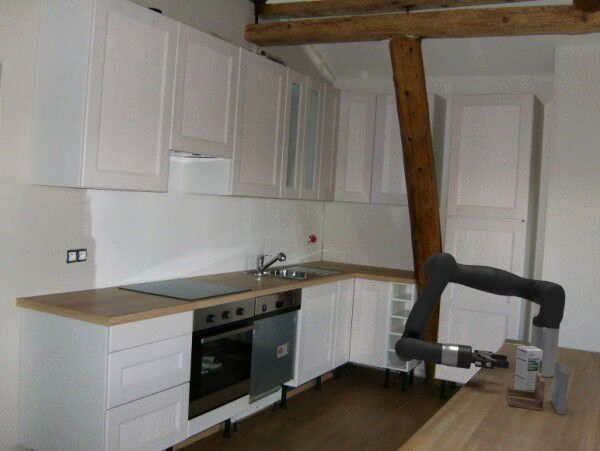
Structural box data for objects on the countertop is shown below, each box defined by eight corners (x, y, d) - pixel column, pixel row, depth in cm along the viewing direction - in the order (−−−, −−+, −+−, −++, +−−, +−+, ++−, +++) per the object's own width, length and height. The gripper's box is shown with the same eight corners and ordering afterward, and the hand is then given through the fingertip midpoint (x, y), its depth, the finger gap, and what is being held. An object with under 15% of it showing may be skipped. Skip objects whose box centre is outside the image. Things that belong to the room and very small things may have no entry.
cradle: (506, 395, 200) (509, 368, 199) (538, 400, 197) (540, 372, 197) (509, 405, 189) (511, 377, 189) (542, 410, 187) (545, 381, 187)
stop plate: (551, 401, 197) (554, 363, 197) (558, 402, 197) (561, 363, 196) (557, 413, 186) (561, 372, 185) (564, 414, 185) (568, 373, 185)
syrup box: (524, 395, 202) (528, 349, 201) (513, 389, 208) (517, 345, 207) (539, 395, 204) (543, 349, 203) (528, 389, 209) (532, 345, 209)
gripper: (457, 349, 203) (510, 355, 200) (457, 340, 217) (507, 345, 213) (455, 372, 204) (508, 379, 200) (455, 361, 218) (505, 368, 214)
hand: (507, 361), depth 207 cm, fingers open, 8 cm apart
